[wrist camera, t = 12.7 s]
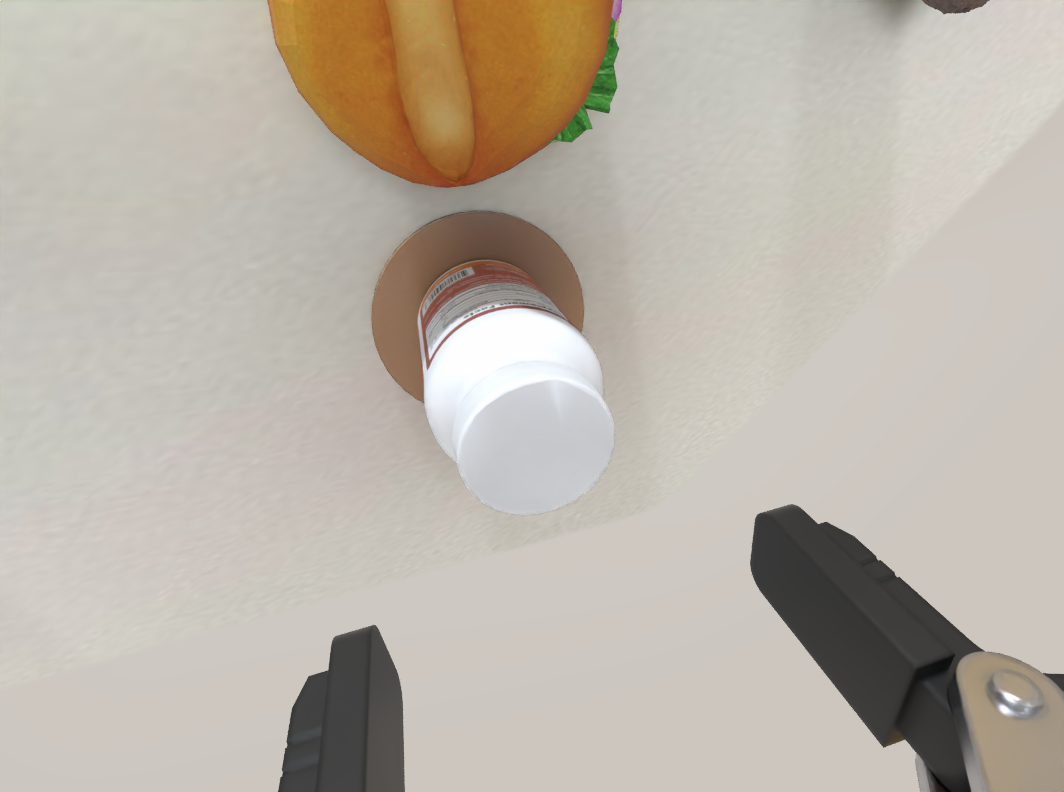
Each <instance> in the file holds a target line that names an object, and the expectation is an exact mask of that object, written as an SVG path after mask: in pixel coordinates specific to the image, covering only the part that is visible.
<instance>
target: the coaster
mask: <svg viewBox="0 0 1064 792" xmlns="http://www.w3.org/2000/svg"><path fill="white" fill-rule="evenodd" d="M475 260H496V261H501V262H505V263H508V264H511V265H513V266H515V267H517V268H519V269H521V270H522V271H524V272H525V273H526V274H528V275H529V276H530V277H531V278H532V279H533V280H534V281H535V282H536V283H537V284H538V285H539V286H540V287H541V288H542V290H543V291H544V292H545V293H546V294H547V295H548V297H549V298H550V299H551V300H552V301H553V302H554V303H555V305H556V306H557V307H558V308H559V309H560V310H561V311H562V312H563V314H564V315H565V316H566V317H567V318H568V319H569V320H570V321H571V323H572V324H573V325H574V326H575V327H576V328H577V329H578V330H579V332H580V333H581V331H582V327H583V317H584V303H583V296H582V289H581V286H580V283H579V279H578V276H577V274H576V272H575V270H574V267H573V265H572V263H571V262H570V260H569V259H568V257H567V256H566V254H565V253H564V251H563V250H562V249H561V248H560V247H559V246H558V244H557V243H556V242H555V241H554V240H552V239H551V238H550V237H549V236H548V235H547V234H546V233H544V232H543V231H541V230H540V229H538V228H537V227H535V226H534V225H532V224H530V223H528V222H526V221H524V220H522V219H519V218H517V217H513V216H510V215H507V214H503V213H497V212H490V211H472V212H463V213H457V214H454V215H450V216H446V217H443V218H441V219H438V220H436V221H434V222H431V223H429V224H428V225H426V226H424V227H423V228H421V229H419V230H417V231H416V232H415V233H414V234H412V235H411V236H410V237H409V238H407V239H406V240H405V241H404V242H403V243H402V244H401V245H400V246H399V247H398V248H397V250H396V251H395V252H394V253H393V255H392V256H391V258H390V259H389V260H388V262H387V263H386V265H385V267H384V269H383V271H382V273H381V275H380V277H379V280H378V283H377V286H376V289H375V293H374V298H373V304H372V329H373V336H374V340H375V344H376V348H377V350H378V353H379V355H380V358H381V360H382V362H383V363H384V365H385V367H386V369H387V370H388V372H389V373H390V374H391V376H392V377H393V378H394V380H395V381H396V382H397V383H398V384H399V385H400V386H401V387H402V388H403V389H404V390H405V391H406V392H408V393H409V394H410V395H412V396H413V397H414V398H416V399H418V400H419V401H421V402H423V403H424V396H423V383H422V372H421V362H420V352H419V343H418V334H417V322H418V314H419V309H420V306H421V303H422V301H423V298H424V296H425V294H426V293H427V291H428V290H429V288H430V287H431V286H432V284H433V283H434V282H435V281H436V280H437V279H438V278H439V277H440V276H441V275H443V274H444V273H445V272H447V271H448V270H450V269H452V268H454V267H456V266H458V265H460V264H463V263H466V262H470V261H475Z"/></svg>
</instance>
